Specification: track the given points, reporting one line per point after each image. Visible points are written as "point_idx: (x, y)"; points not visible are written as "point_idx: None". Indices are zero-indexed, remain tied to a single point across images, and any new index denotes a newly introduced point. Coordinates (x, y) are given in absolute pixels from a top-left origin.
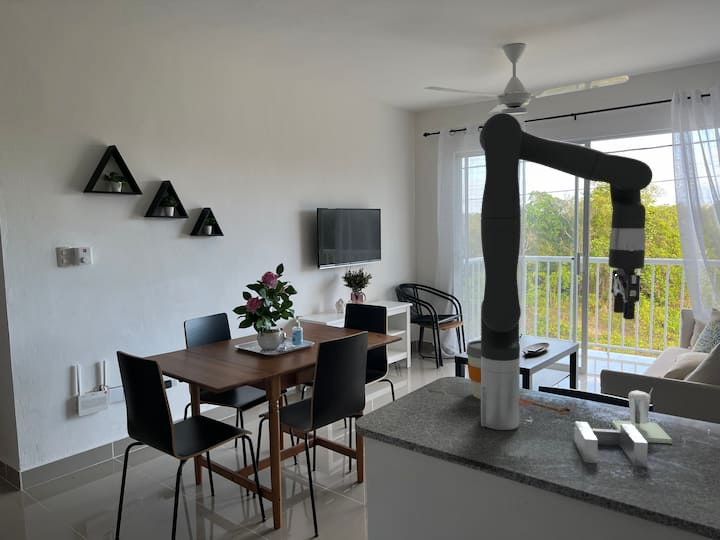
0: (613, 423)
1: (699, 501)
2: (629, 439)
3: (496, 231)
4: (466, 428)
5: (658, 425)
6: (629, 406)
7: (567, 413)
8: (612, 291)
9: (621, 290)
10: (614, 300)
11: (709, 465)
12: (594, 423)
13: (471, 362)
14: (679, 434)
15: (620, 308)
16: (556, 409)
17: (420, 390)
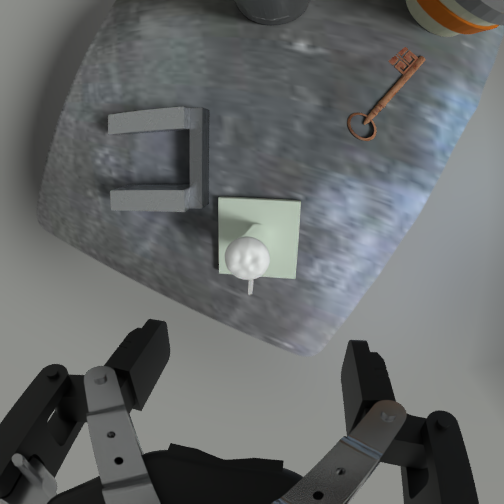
0: (287, 200)
1: (67, 231)
2: (135, 189)
3: None
4: None
5: (280, 277)
6: (254, 232)
7: (349, 128)
8: (429, 424)
9: (89, 417)
10: (367, 385)
11: (154, 286)
12: (301, 168)
13: None
14: (262, 298)
15: (345, 377)
16: (370, 112)
17: None
